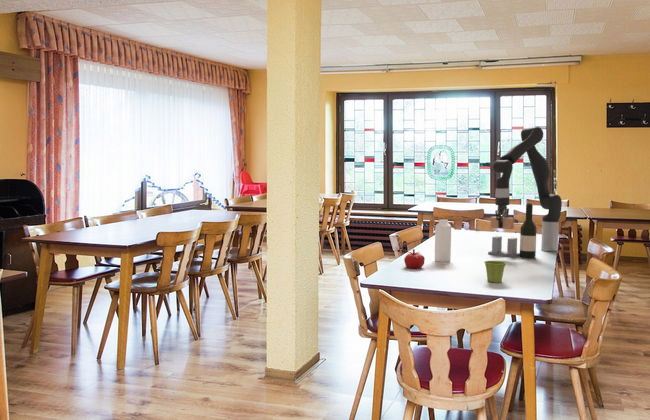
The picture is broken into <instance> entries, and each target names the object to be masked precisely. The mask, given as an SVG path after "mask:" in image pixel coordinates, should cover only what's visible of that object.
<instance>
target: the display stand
mask: <svg viewBox="0 0 650 420" xmlns="http://www.w3.org/2000/svg"><path fill="white" fill-rule="evenodd" d="M491 240H492V241H491V250H490V251H488V252H487V255H489V256H490V255H491V256H497V257H509V258H518V257H519V258H520V252H518V238H517V237H508V238H507V251H504V250H503V251H502V246H503V245H502V242H503V236H501V235H496V236H492V239H491Z"/></svg>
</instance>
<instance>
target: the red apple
mask: <svg viewBox="0 0 650 420" xmlns="http://www.w3.org/2000/svg"><path fill="white" fill-rule="evenodd" d="M407 253H408V254H406V255H405V257H404V258H403V259H404V260H403V261H404V264H405V267H406V268H408V269H417V268H418V269H420V268H421V269H422V267H423V266H424V265H425V256H424V255H422V253H421V252H419V251H417V252H415V249H414V248H412V251H408V252H407Z"/></svg>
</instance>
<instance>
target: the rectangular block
mask: <svg viewBox="0 0 650 420" xmlns="http://www.w3.org/2000/svg"><path fill="white" fill-rule="evenodd" d="M498 222H499V221H498V220H496V216H490V226H489V227H490V229H500V230H501V229H502V230H514V229H515V228H514V227H515V217H509V216H508V217H503V228H499V227H498Z"/></svg>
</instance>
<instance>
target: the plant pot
mask: <svg viewBox="0 0 650 420" xmlns="http://www.w3.org/2000/svg"><path fill="white" fill-rule="evenodd" d="M484 264H485V269H486V279H487V282H489V283H490V282H491V283H494V284H495V283H502V282H503V275H504V271H505V267H506V264H507V262H505V261H502V260H501V261H500V260H486V261H484Z"/></svg>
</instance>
